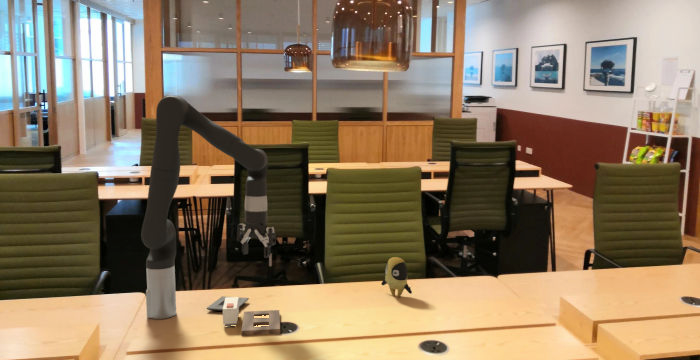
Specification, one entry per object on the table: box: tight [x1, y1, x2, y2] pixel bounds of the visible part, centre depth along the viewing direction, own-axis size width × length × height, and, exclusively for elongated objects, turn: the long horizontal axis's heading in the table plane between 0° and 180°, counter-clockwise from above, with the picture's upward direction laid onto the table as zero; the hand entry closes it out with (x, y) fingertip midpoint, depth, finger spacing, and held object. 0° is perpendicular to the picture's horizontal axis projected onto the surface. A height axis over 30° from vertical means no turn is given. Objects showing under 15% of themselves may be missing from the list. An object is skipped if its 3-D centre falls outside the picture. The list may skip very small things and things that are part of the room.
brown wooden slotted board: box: [241, 309, 281, 336], centre depth 198 cm, size 12×18×2 cm, turn 7°
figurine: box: [381, 256, 413, 298], centre depth 226 cm, size 8×16×15 cm, turn 42°
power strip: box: [222, 296, 240, 327], centre depth 200 cm, size 4×12×7 cm, turn 7°
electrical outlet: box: [206, 296, 250, 312], centre depth 215 cm, size 13×10×2 cm
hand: (256, 255), depth 204 cm, fingers open, 8 cm apart
